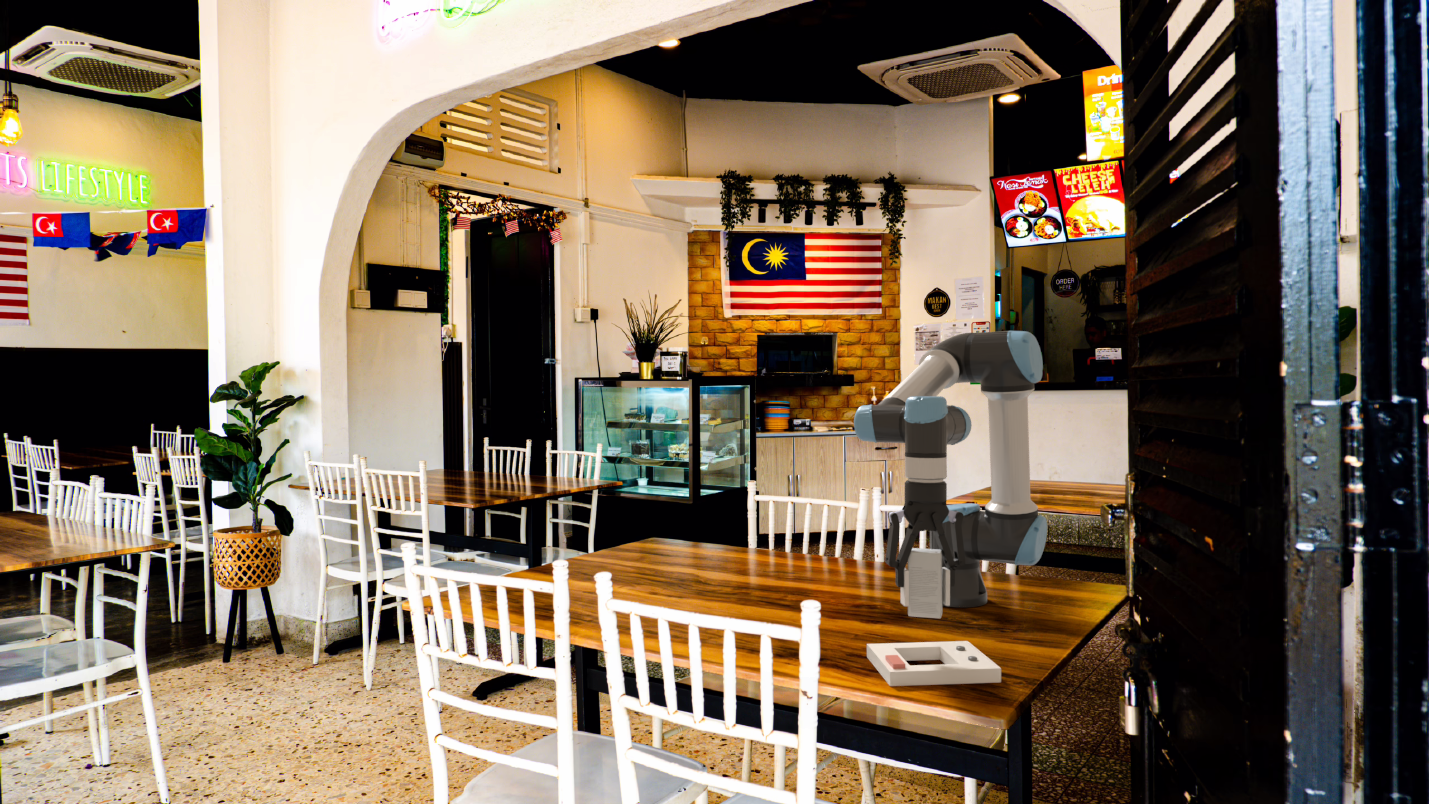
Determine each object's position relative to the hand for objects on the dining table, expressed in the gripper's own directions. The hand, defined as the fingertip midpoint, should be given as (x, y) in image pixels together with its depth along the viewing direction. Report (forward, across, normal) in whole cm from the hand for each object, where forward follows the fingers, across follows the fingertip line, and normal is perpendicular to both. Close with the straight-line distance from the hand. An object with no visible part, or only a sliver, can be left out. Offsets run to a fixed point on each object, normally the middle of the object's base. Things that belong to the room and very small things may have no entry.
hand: (925, 604), depth 157 cm
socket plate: (+12, -1, 0) cm, 12 cm away
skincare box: (+2, 0, 0) cm, 2 cm away
